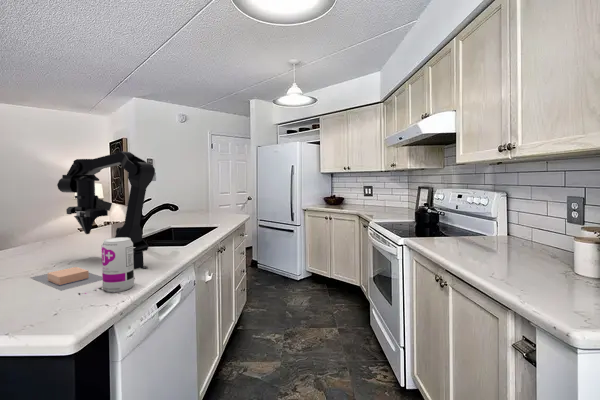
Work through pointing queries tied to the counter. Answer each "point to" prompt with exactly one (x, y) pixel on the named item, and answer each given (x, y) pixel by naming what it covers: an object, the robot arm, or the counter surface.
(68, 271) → the tile
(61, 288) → the mat
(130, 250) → the supplement can
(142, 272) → the counter surface
